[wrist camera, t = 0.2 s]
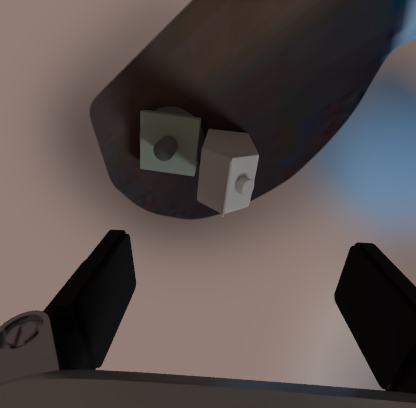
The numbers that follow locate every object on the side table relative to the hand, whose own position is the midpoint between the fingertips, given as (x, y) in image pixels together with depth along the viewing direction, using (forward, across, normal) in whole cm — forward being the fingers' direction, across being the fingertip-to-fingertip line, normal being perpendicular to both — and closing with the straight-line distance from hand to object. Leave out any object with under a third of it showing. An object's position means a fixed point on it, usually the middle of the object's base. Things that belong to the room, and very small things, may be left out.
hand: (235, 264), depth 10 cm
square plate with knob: (+35, +10, +2) cm, 37 cm away
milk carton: (+36, 0, +3) cm, 36 cm away
